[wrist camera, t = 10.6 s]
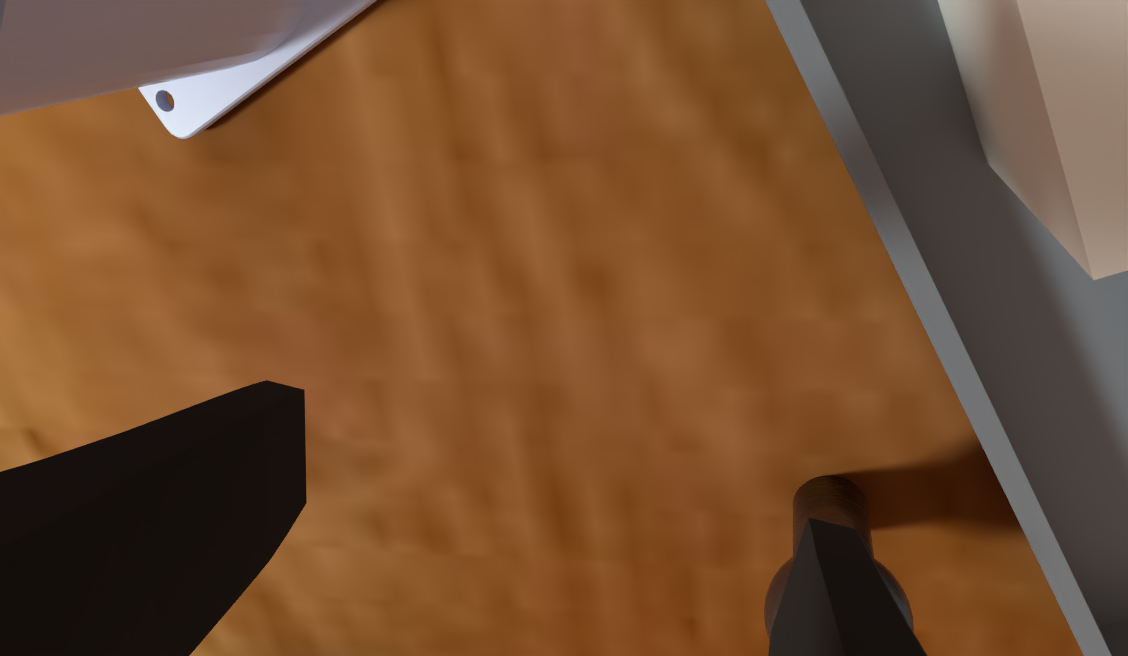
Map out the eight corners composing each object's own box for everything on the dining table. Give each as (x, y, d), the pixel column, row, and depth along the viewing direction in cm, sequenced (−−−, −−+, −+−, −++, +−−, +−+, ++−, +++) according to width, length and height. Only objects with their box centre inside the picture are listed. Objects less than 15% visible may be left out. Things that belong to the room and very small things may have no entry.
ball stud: (748, 478, 21) (736, 634, 16) (862, 440, 20) (884, 595, 15) (800, 567, 22) (801, 741, 17) (912, 534, 21) (948, 712, 16)
